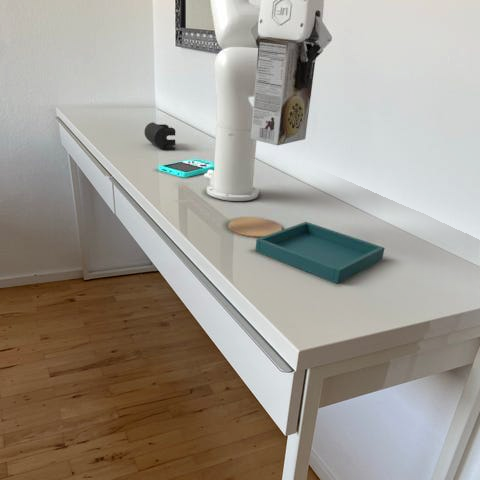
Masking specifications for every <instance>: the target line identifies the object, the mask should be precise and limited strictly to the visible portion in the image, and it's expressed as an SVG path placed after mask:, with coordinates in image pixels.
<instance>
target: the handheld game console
mask: <svg viewBox="0 0 480 480" xmlns="http://www.w3.org/2000/svg"><path fill="white" fill-rule="evenodd" d="M209 169H211V170H214V162H213V161H209V160H205V159H201V158H189V159H186V160H180V161H176V162H175V161H174V162H171V163H166V164H161V165H158V169H157V170H158V172H159V171H160V172H162V173H166V174H170V175H174V176H177V177H181V178H190V177H193V176H197V175H201V174H205V173H207V171H208V170H209Z"/></svg>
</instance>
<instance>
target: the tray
mask: <svg viewBox="0 0 480 480" xmlns="http://www.w3.org/2000/svg"><path fill="white" fill-rule="evenodd" d="M254 251H255V252H256V253H259V254H261V255H264V256H266V257H269V258H271V259H274V260H276V261H279V262H281V263H284V264H286V265H289V266H291V267H294V268H296V269H298V270H301V271H304V272H307V273H309V274H312V275H314V276H317V277H319V278H321V279H324V280H327V281H330V282H332V283H334V284H340V283H341V282H343V281H345V280H347V279H349V278H350V277H353V276H354V275H357V274H358V273H360V272H362V271H364V270H366V269H367V268H370V267H372V266H373V265H375V264H376V263H378V262H380V261H382V260H383V257H384V252H385V247H384V246H381V245H378V244H375V243H372V242H369V241H366V240H363V239H359V238H356V237H353V236H351V235H347V234H344V233H341V232H338V231H335V230H333V229H329V228H326V227H323V226H320V225H318V224H314V223H311V222H308V221H303V222H300V223H297V224H295V225H292V226H289V227H287V228H284V229H282V230H281V231H278V232H275V233H272V234H270V235H267V236H264V237H257V238H256V241H255V249H254Z"/></svg>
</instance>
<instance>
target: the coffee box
mask: <svg viewBox="0 0 480 480" xmlns="http://www.w3.org/2000/svg"><path fill="white" fill-rule="evenodd" d="M316 43H317V41H316V42H314V43H313V44H316ZM299 47H300V42H299V43H296V42H292V41H286V40H281V39H274V38H259V44H258V57H257V69H256V81H255V94H254V97H253V105H252V106H253V118H252V130H251V139H253V140H257V141H256V142H262V143H266V144H270V145H274V146H283V145H286V144H290V143H294V142H299V141H304V140H306V136H307V128H308V120H309V114H310V113H309V112H310V106H311V99H312V89H313V81H314V75H315V66H316V61H315V62H312V68H311V76H310V81H309V85H308V88H299V89H298V88H295V79H296V70H297V63H298V62H301V57H300V53H299ZM306 47H307V46H306Z"/></svg>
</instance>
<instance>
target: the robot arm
mask: <svg viewBox="0 0 480 480" xmlns="http://www.w3.org/2000/svg"><path fill="white" fill-rule="evenodd" d="M209 2H210V8H211V14H212V22H213V28H214V33H215V38H216V42H217V44H218V45H219V46H218V47H219V48H220V49H221V50H220V51H219V52H218V53H217V55H216V57H215V60H214V66H213V70H214V72H213V73H214V83H215V95H216V96H215V97H216V113H215V115H216V116H215V117H216V118H215V119H216V121H215V143H214V160H213V161H214V162H213V163H214V170H211V169H209V170H208V171H207V172H206V173H203V178H204V179H206V180H210V182H209V183H210V184H209V185H208V186H207V187H206V193H207V195H208V196H210V197H212V198H215V199H219V200H222V201H223V200H224V201H230V202H246V201H252V200H255V199H257V198H258V197H259V189H257V188H256V187H254V174H255V164H256V163H255V162H256V151H257V149H256V148H257V142H258V141H257V140H253V139H251V130H252V118H253V105H252V103H251V101H250V98H254V94H255V81H256V69H257V57H258V44H259V38H274V39H281V40H286V41H292V42H296V43H299V42H300V47H299V53H300V57H301V62H298V63H297V70H296V79H295V88H298V89H299V88H308V85H309V81H310V76H311V68H312V62H315V63H316V60H317V58H318V57H319V56H320V55H321V54H322V53H323V51H324V50H325V48H326V47H327V46H328V45H329V44H330V43H331V42H332V41H333V36H332V35H331V33H330V31H329V30H328V28H327V27H326V25H325V23H324V22H323V18H324V5H325V0H260V5H255V4H253V3H250V1H249V0H209ZM314 42H317V43H316V44H313V43H314ZM306 46H307V47H306Z"/></svg>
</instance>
